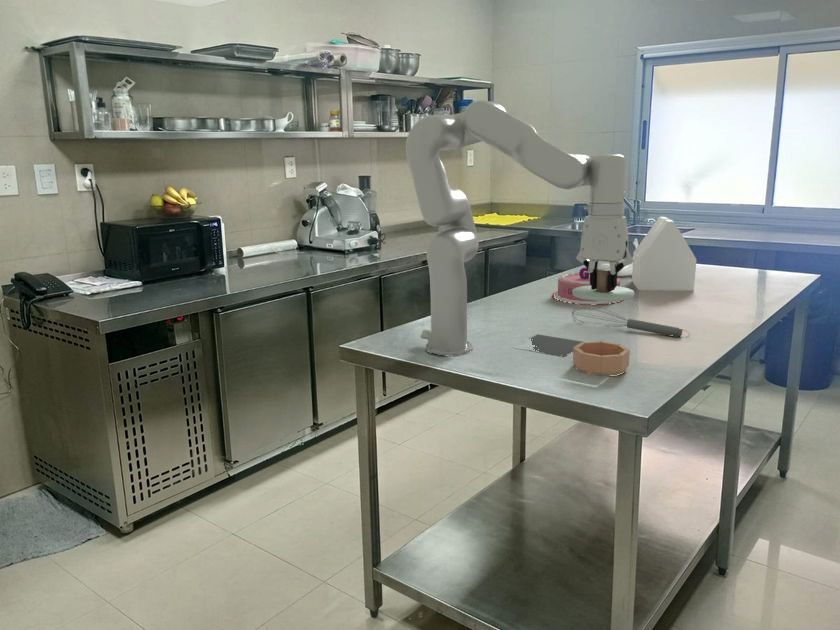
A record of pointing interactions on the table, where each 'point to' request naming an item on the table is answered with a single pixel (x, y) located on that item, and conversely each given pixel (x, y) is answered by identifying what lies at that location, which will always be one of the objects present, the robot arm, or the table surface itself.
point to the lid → (603, 290)
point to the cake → (574, 281)
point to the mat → (553, 345)
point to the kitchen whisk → (639, 324)
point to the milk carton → (664, 259)
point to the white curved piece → (627, 269)
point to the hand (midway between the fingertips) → (603, 288)
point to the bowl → (601, 358)
